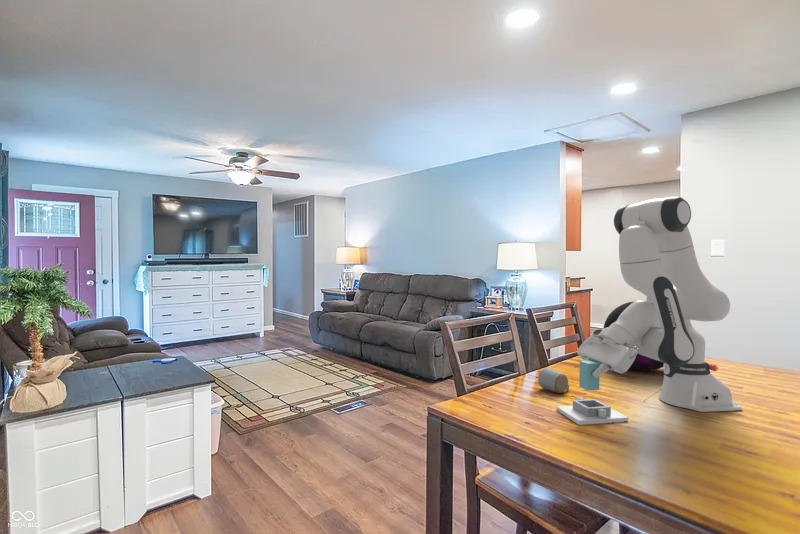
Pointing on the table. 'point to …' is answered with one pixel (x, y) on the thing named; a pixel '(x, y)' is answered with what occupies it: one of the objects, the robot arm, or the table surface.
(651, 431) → the table surface
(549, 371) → the ceramic mug
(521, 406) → the table surface
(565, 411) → the housing plate
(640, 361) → the black purple ball
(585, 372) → the block
